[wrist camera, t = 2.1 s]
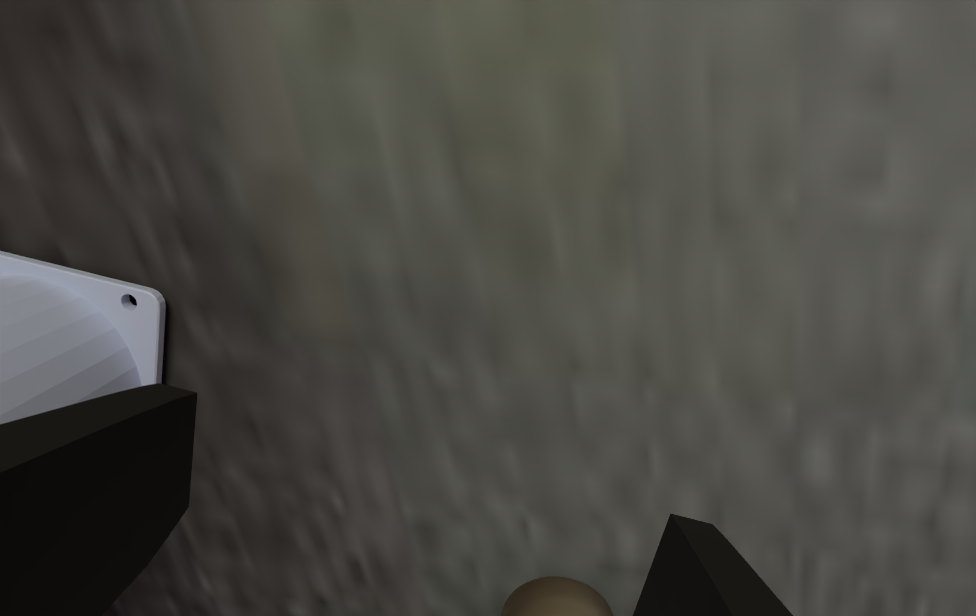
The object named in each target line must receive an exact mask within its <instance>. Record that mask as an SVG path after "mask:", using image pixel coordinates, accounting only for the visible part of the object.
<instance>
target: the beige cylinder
mask: <svg viewBox="0 0 976 616" xmlns="http://www.w3.org/2000/svg"><path fill="white" fill-rule="evenodd" d="M502 616H613V614H612V611H611V609H610V607H609V605H608V603H607V602H606V601H605V599H604V598H603V597H602V596H601V595H600V594H599V593H598V592H597V591H595V590H594V589H593V588H591V587H590V586H588V585H586V584H584V583H582V582H579V581H576V580H573V579H569V578H564V577H544V578H539V579H535V580H532V581H530V582H527V583H525V584H523V585H522V586H520V587H519V588H517V589H516V590H515V591H514V592H513V593H512V594H511V595H510V597H509V598H508V599H507V601H506V603H505V605H504V608H503V612H502Z"/></svg>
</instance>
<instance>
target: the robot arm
mask: <svg viewBox="0 0 976 616" xmlns="http://www.w3.org/2000/svg"><path fill="white" fill-rule="evenodd" d="M129 295H132V296H133V297H134V298H135V299H136V301H137V306H135V305H133V304H132V303H131V301H130V298H129ZM165 311H166V304H165V300H164V298H163V296H162V295H161V294H160V293H159V292H158V291H157V290H155V289H152V288H149V287H145V286H141V285H137V284H133V283H129V282H125V281H121V280H117V279H113V278H108V277H104V276H100V275H96V274H92V273H88V272H84V271H80V270H76V269H72V268H68V267H64V266H60V265H56V264H52V263H48V262H44V261H39V260H35V259H31V258H27V257H23V256H19V255H15V254H11V253H7V252H3V251H0V616H101V615H102V614H103V613H104V612H105V611H106V610H107V609H108V608H109V607H110V606H111V605H112V603H113V602H114V601H115V600H116V599H117V598H118V597H119V596H120V595H121V594H122V592H123V591H124V590H125V589H126V588H127V587H128V586H129V585H130V584H131V583H132V581H133V580H134V579H135V578H136V577H137V576H138V575H139V574H140V572H141V571H142V570H143V569H144V568H145V567H146V566H147V565H148V563H149V562H150V560H151V559H152V558H153V556H154V555H155V554H156V552H157V551H158V550H159V548H160V547H161V546H162V544H163V543H164V541H165V540H166V539H167V537H168V536H169V534H170V533H171V532H172V530H173V529H174V527H175V526H176V524H177V523H178V521H179V520H180V518H181V517H182V516H183V514H184V513H185V511H186V510H187V508H188V507H189V496H190V483H191V469H192V456H193V443H194V429H195V416H196V403H197V393H196V392H192V391H188V390H184V389H180V388H176V387H172V386H168V385H164V384H161V382H162V365H163V347H164V329H165ZM633 616H793V615H792V614H791V613H790V612H789V611H788V609H787V608H786V607H785V606H784V605H783V604H782V602H781V601H780V600H779V599H778V598H777V597H776V596H775V594H774V593H773V592H772V591H771V590H770V589H769V587H768V586H767V585H766V584H765V583H764V582H763V580H762V579H761V578H760V577H759V576H758V575H757V573H756V572H755V571H754V570H753V569H752V568H751V566H750V565H749V564H748V563H747V562H746V561H745V559H744V558H743V557H742V556H741V555H740V554H739V553H738V551H737V550H736V549H735V548H734V547H733V546H732V545H731V543H730V542H729V541H728V540H727V539H726V538H725V537H724V536H723V535H722V534H721V533H720V532H719V531H718V529H717V528H716V527H715V526H714V525H713V524H709V523H705V522H702V521H698V520H694V519H690V518H686V517H682V516H678V515H674V514H670V516H669V519H668V522H667V525H666V527H665V530H664V533H663V535H662V538H661V541H660V544H659V546H658V549H657V552H656V554H655V557H654V560H653V563H652V565H651V568H650V571H649V573H648V576H647V579H646V582H645V584H644V587H643V590H642V592H641V595H640V598H639V601H638V603H637V606H636V609H635V611H634V614H633Z"/></svg>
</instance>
